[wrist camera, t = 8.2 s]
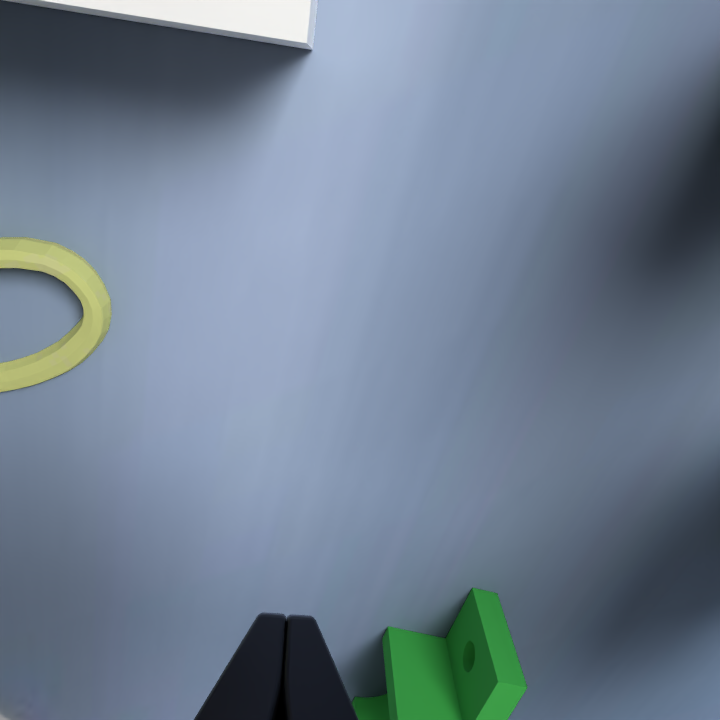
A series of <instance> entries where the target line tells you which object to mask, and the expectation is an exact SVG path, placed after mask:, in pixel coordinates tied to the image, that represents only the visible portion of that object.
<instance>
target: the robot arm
mask: <svg viewBox="0 0 720 720" xmlns="http://www.w3.org/2000/svg"><path fill="white" fill-rule="evenodd" d="M194 720H359V719H358V717H357V714H356V712H355V710H354V708H353V705H352V703H351V701H350V698H349V696H348V694H347V691H346V689H345V687H344V684H343V682H342V680H341V677H340V675H339V673H338V671H337V668H336V666H335V664H334V661H333V659H332V657H331V654H330V652H329V650H328V647H327V645H326V643H325V640H324V638H323V636H322V633H321V631H320V629H319V627H318V624H317V622H316V620H315V619H314V618H313V617H312V616H306V615H289V616H288V617H287V620H286V616H285V615H284V614H278V613H260V614H259V615H258V616H257V618H256V619H255V621H254V622H253V624H252V626H251V627H250V629H249V631H248V632H247V634H246V635H245V637H244V639H243V640H242V642H241V644H240V645H239V647H238V648H237V650H236V652H235V653H234V655H233V657H232V658H231V660H230V662H229V663H228V665H227V666H226V668H225V670H224V671H223V673H222V675H221V676H220V678H219V680H218V681H217V683H216V684H215V686H214V688H213V689H212V691H211V693H210V694H209V696H208V697H207V699H206V701H205V702H204V704H203V706H202V707H201V709H200V711H199V712H198V714H197V715H196V717H195V719H194Z"/></svg>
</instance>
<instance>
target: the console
mask: <svg viewBox="0 0 720 720" xmlns="http://www.w3.org/2000/svg"><path fill="white" fill-rule="evenodd" d="M3 1H9V2H16V3H22V4H28V5H34V6H41V7H47V8H53V9H59V10H66V11H72V12H78V13H84V14H91V15H97V16H103V17H109V18H116V19H122V20H128V21H134V22H141V23H147V24H153V25H159V26H166V27H172V28H178V29H185V30H191V31H197V32H203V33H210V34H216V35H222V36H228V37H235V38H241V39H247V40H253V41H260V42H266V43H272V44H278V45H285V46H291V47H297V48H303V49H310V50H313V45H314V35H315V26H316V16H317V6H318V0H3Z"/></svg>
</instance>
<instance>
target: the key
mask: <svg viewBox="0 0 720 720" xmlns="http://www.w3.org/2000/svg"><path fill="white" fill-rule="evenodd" d="M0 268H21V269H29V270H36V271H42V272H45V273H48V274H50V275H53V276H55V277H57V278H58V279H60V280H61V281H63V282H64V283H66V284H67V285H68V286H69V287H70V288H71V289H72V290H73V291H74V293H75V294H76V295H77V296H78V298H79V299H80V300H81V303H82V306H83V311H84V314H83V317H82V318H81V320H80V321H79V322H78V323H77V325H76V326H75V327H74V328H73V329H72V330H71V331H70V332H69V333H68V334H66V335H65V336H64V337H63V338H62V339H61V340H59V341H58V342H56V343H55V344H53V345H51V346H49V347H47V348H45V349H44V350H42V351H40V352H38V353H36V354H33V355H30V356H27V357H24V358H21V359H17V360H13V361H9V362H5V363H0V392H3V391H9V390H15V389H19V388H23V387H27V386H31V385H35V384H38V383H41V382H44V381H46V380H49V379H52V378H55V377H57V376H59V375H61V374H63V373H65V372H68V371H70V370H71V369H73V368H74V367H76V366H77V365H79V364H81V363H82V362H83V361H84V360H85V359H86V358H87V357H89V356H90V355H91V354H92V353H93V352H94V350H95V349H96V348H97V347H98V346H99V345H100V343H101V342H102V341H103V339H104V337H105V335H106V334H107V332H108V330H109V326H110V320H111V300H110V297H109V294H108V292H107V290H106V287H105V285H104V283H103V282H102V280H101V278H100V277H99V275H98V274H97V272H96V271H95V270H94V269H93V268H92V266H91V265H90V264H89V263H88V262H87V261H86V260H85V259H83V258H82V257H80V256H79V255H77V254H76V253H74V252H73V251H71V250H69V249H67V248H65V247H63V246H61V245H59V244H57V243H53V242H48V241H43V240H38V239H33V238H27V237H2V238H0Z"/></svg>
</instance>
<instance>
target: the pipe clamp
mask: <svg viewBox="0 0 720 720" xmlns="http://www.w3.org/2000/svg"><path fill="white" fill-rule="evenodd" d="M382 642H383V652H384V663H385V674H386V685H387V694H384V695H381V696H377V697H354V700H353V702H352V705H353V708H354V710H355V712H356V714H357V717H358V719H359V720H507V719H508V718H509V716H510V715H511V713H512V711H513V710H514V708H515V707H516V705H517V703H518V702H519V700H520V699H521V697H522V696H523V694H524V692H525V691H526V689H527V685H526V681H525V678H524V675H523V672H522V669H521V666H520V663H519V660H518V656H517V653H516V650H515V647H514V644H513V641H512V638H511V635H510V632H509V628H508V625H507V622H506V619H505V616H504V613H503V610H502V607H501V603H500V600H499V597H498V594H497V593H493V592H489V591H484V590H480V589H476V588H472V589H471V591H470V593H469V595H468V597H467V599H466V601H465V603H464V604H463V606H462V608H461V610H460V612H459V614H458V616H457V618H456V620H455V621H454V623H453V625H452V627H451V629H450V631H449V633H448V635H447V637H446V638H441V637H436V636H431V635H427V634H422V633H417V632H412V631H407V630H403V629H398V628H393V627H388V628H387V630H386V632H385V634H384V636H383V638H382Z"/></svg>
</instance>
